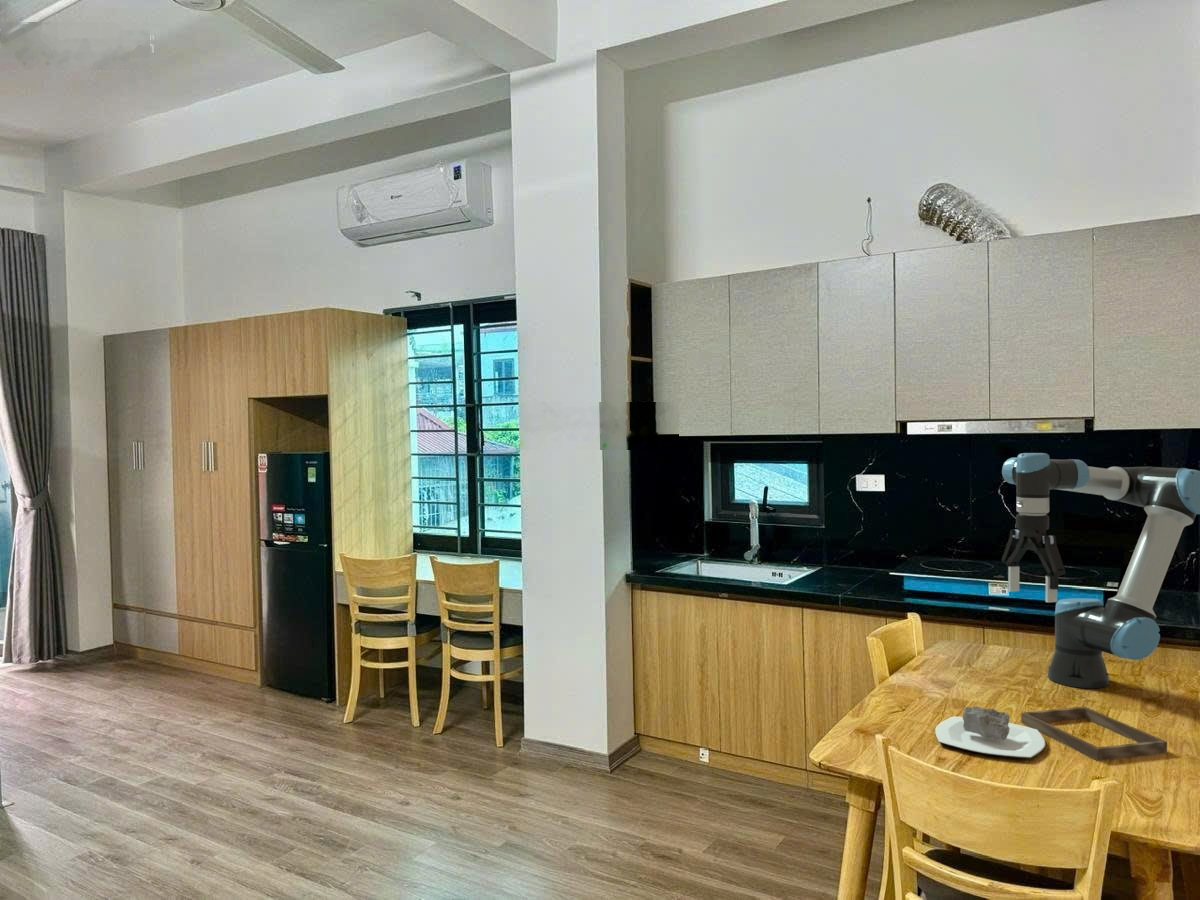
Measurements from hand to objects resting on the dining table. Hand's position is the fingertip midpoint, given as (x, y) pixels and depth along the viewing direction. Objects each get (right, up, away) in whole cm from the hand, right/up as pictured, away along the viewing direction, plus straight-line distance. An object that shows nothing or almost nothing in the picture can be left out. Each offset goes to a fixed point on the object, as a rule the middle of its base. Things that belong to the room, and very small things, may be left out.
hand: (1032, 596), depth 220 cm
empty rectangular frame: (+4, -29, -20) cm, 36 cm away
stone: (-21, -29, -20) cm, 41 cm away
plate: (-20, -31, -21) cm, 42 cm away
